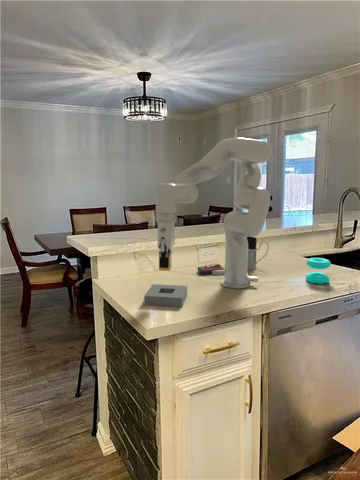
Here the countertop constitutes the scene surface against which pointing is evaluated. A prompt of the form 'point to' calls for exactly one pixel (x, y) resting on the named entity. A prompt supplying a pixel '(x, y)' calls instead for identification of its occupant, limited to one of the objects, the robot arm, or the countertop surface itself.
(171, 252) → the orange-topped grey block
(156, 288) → the socket plate
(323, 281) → the donuts
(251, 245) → the grey and black mug
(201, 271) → the walkie-talkie
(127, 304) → the countertop surface
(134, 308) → the countertop surface
